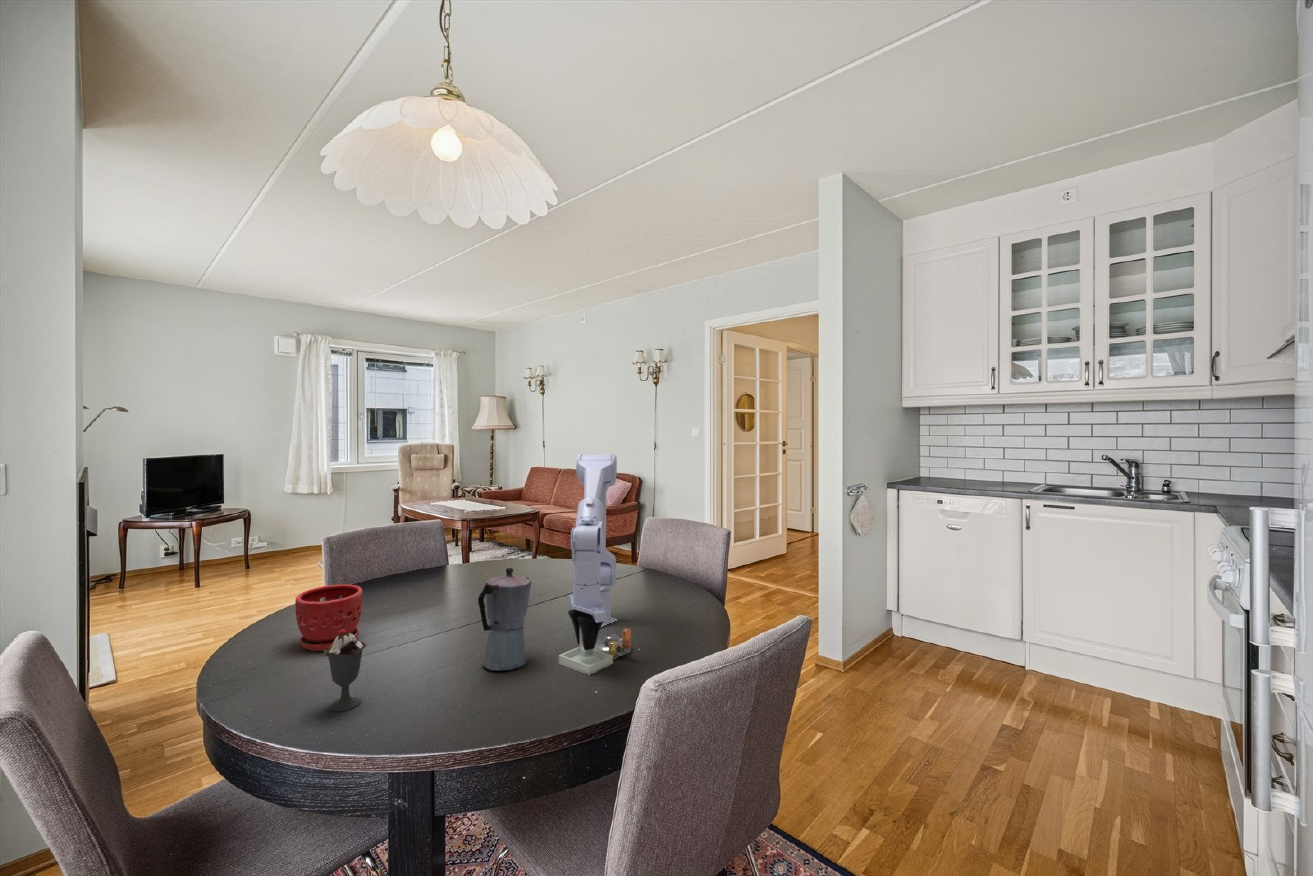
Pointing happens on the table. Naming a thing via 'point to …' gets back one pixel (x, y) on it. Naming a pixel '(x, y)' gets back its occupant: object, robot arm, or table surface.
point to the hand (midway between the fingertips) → (585, 646)
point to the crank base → (608, 647)
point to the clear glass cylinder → (581, 649)
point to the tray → (585, 661)
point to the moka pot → (505, 620)
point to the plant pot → (327, 614)
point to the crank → (622, 645)
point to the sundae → (344, 667)
